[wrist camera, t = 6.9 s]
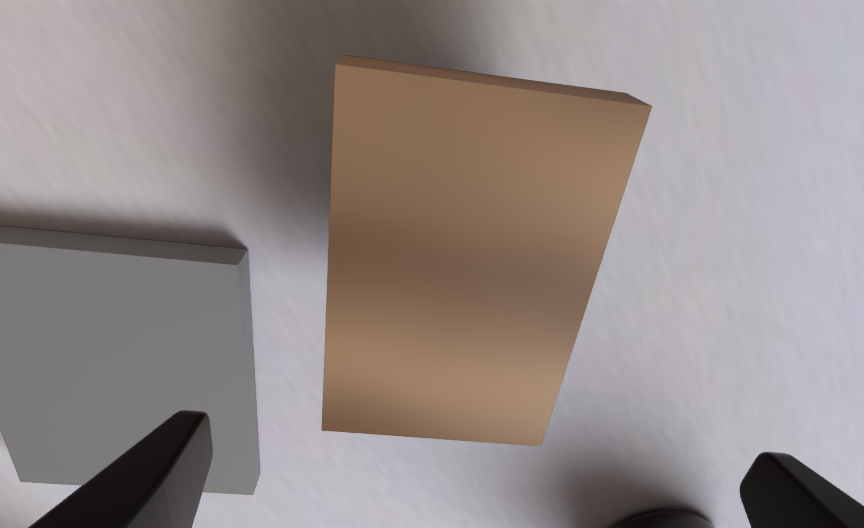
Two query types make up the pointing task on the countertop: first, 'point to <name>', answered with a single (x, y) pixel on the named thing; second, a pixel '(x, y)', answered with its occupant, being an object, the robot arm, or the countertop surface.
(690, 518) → the supplement bottle
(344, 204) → the walnut board
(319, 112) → the countertop surface
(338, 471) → the countertop surface
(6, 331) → the trivet
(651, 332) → the countertop surface
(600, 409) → the countertop surface
